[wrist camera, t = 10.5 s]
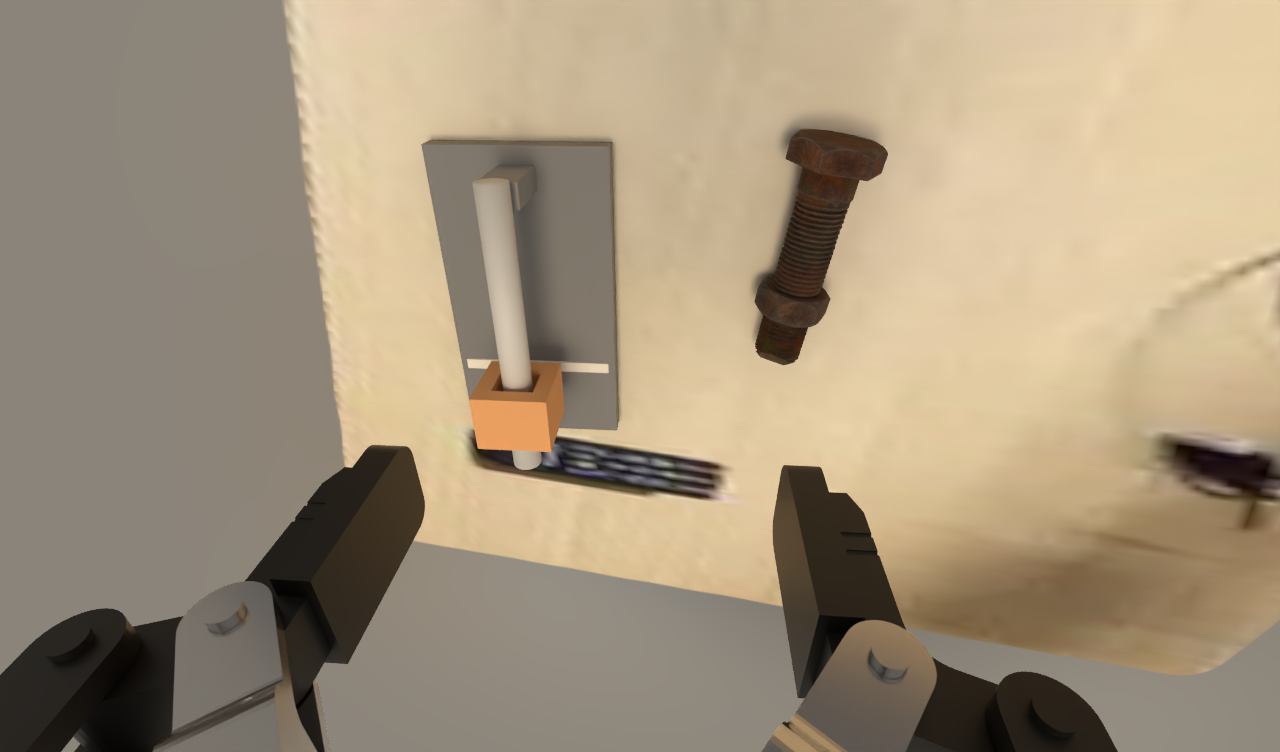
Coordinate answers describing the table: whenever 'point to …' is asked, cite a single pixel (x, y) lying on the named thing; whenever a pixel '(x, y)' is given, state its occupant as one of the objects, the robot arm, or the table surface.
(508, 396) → the collar
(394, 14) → the table surface
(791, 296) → the bolt
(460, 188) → the pipe stand
